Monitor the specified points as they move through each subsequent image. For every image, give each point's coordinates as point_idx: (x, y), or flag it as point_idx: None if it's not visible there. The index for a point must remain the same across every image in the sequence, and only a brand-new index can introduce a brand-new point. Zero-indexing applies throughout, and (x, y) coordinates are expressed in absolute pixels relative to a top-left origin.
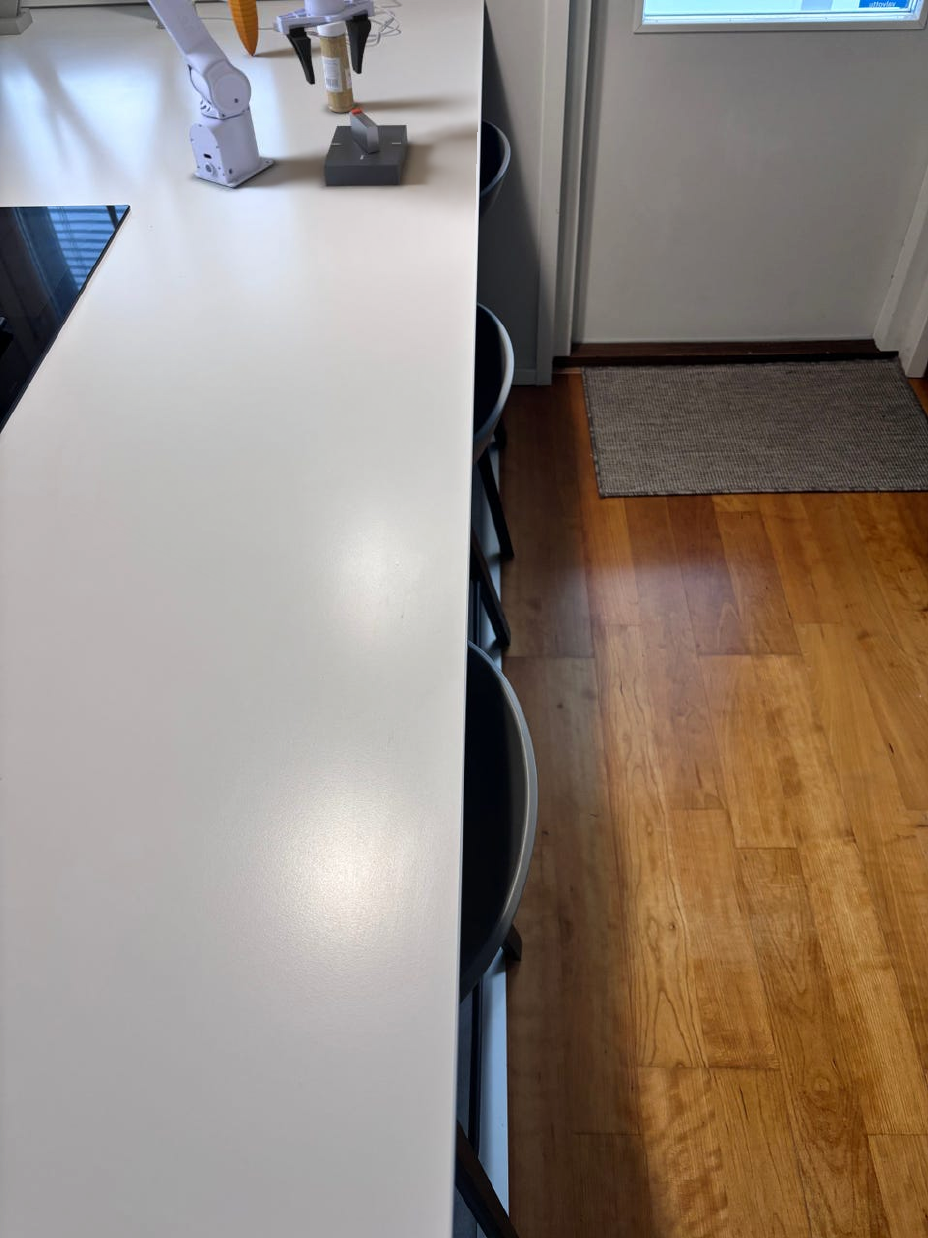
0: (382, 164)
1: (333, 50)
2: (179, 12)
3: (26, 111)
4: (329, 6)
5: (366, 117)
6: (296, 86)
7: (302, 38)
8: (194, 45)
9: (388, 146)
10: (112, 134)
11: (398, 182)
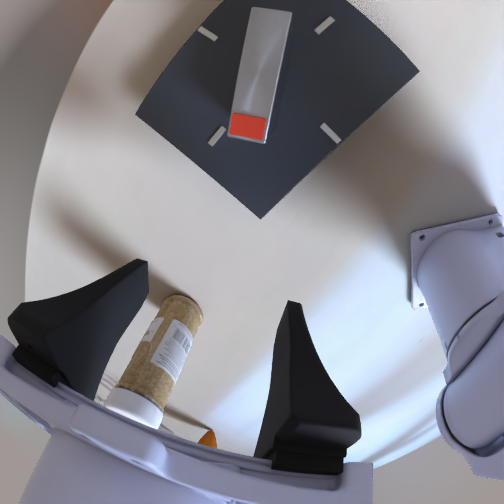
0: None
1: (153, 376)
2: None
3: (413, 446)
4: (114, 497)
5: (247, 68)
6: (206, 382)
7: (330, 430)
8: None
9: (230, 34)
10: (426, 407)
11: None
